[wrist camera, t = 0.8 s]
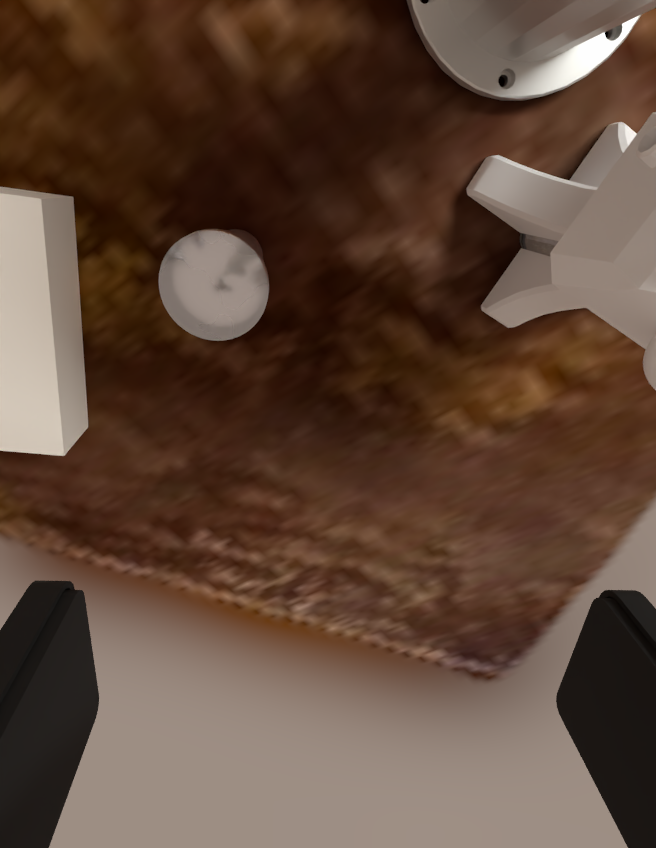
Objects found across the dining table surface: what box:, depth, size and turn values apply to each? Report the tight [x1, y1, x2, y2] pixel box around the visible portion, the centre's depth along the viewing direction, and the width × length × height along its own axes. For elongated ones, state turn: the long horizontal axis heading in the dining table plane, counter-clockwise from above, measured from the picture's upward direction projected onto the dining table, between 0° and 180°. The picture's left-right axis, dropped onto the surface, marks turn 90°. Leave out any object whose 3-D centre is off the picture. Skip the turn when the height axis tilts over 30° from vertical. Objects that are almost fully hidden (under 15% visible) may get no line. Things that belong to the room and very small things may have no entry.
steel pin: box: [159, 229, 269, 341], centre depth 25 cm, size 4×4×10 cm
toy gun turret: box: [466, 112, 656, 390], centre depth 22 cm, size 12×13×18 cm
